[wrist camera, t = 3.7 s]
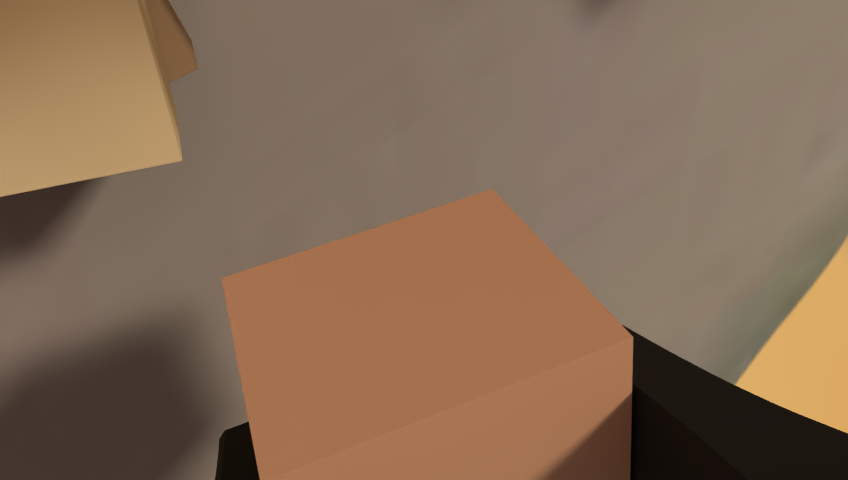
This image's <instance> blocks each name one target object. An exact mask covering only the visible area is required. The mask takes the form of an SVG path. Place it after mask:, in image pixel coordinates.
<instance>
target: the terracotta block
mask: <svg viewBox="0 0 848 480" xmlns="http://www.w3.org/2000/svg"><path fill="white" fill-rule="evenodd" d="M222 283H223V288H224V293H225V299H226V304H227V309H228V314H229V320H230V325H231V330H232V336H233V341H234V346H235V351H236V357H237V362H238V367H239V373H240V378H241V383H242V388H243V394H244V399H245V404H246V409H247V415H248V420H249V425H250V431H251V436H252V441H253V446H254V452H255V457H256V462H257V468H258V473H259V478H260V480H630V468H631V420H632V372H633V336H632V335H631V334H630V333H629V332H628V331H627V330H626V329H625V328H624V327H623V326H622V325H621V324H620V323H619V322H618V321H617V319H616V318H615V317H614V316H613V315H612V314H611V313H610V312H609V311H608V310H607V309H606V308H605V307H604V306H603V305H602V304H601V303H600V302H599V301H598V300H597V298H596V297H595V296H594V295H593V294H592V293H591V292H590V291H589V290H588V289H587V288H586V287H585V286H584V285H583V284H582V283H581V282H580V281H579V280H578V279H577V278H576V276H575V275H574V274H573V273H572V272H571V271H570V270H569V269H568V268H567V267H566V266H565V265H564V264H563V263H562V262H561V261H560V260H559V259H558V258H557V257H556V255H555V254H554V253H553V252H552V251H551V250H550V249H549V248H548V247H547V246H546V245H545V244H544V243H543V242H542V241H541V240H540V239H539V238H538V237H537V236H536V235H535V233H534V232H533V231H532V230H531V229H530V228H529V227H528V226H527V225H526V224H525V223H524V222H523V221H522V220H521V219H520V218H519V217H518V216H517V215H516V214H515V213H514V211H513V210H512V209H511V208H510V207H509V206H508V205H507V204H506V203H505V202H504V201H503V200H502V199H501V198H500V197H499V196H498V195H497V194H496V193H495V192H494V190H493V189H491V190H488V191H485V192H482V193H479V194H476V195H473V196H470V197H467V198H464V199H461V200H458V201H455V202H452V203H449V204H446V205H443V206H440V207H437V208H434V209H431V210H428V211H425V212H422V213H419V214H415V215H412V216H409V217H406V218H403V219H400V220H397V221H394V222H391V223H388V224H385V225H382V226H379V227H376V228H373V229H370V230H367V231H364V232H361V233H358V234H355V235H352V236H349V237H346V238H343V239H339V240H336V241H333V242H330V243H327V244H324V245H321V246H318V247H315V248H312V249H309V250H306V251H303V252H300V253H297V254H294V255H291V256H288V257H285V258H282V259H279V260H276V261H273V262H270V263H267V264H263V265H260V266H257V267H254V268H251V269H248V270H245V271H242V272H239V273H236V274H233V275H230V276H227V277H224V278H222Z"/></svg>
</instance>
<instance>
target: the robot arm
mask: <svg viewBox="0 0 848 480" xmlns="http://www.w3.org/2000/svg"><path fill="white" fill-rule="evenodd" d="M621 325H622V324H621ZM622 326H623V325H622ZM623 327H624V328H625V329H626V330H627V331H628V332H629V333H630V334H631V335H632V336H633V372H632V420H631V468H630V480H848V434H847V433H845V432H842V431H840V430H837V429H835V428H832V427H830V426H827V425H825V424H822V423H820V422H817V421H815V420H812V419H809V418H807V417H804V416H802V415H799V414H797V413H795V412H792V411H790V410H788V409H785V408H783V407H781V406H778V405H776V404H774V403H771V402H769V401H767V400H765V399H763V398H761V397H759V396H756V395H754V394H752V393H750V392H748V391H746V390H743V389H741V388H739V387H737V386H735V385H733V384H731V383H729V382H727V381H725V380H723V379H721V378H719V377H717V376H715V375H713V374H711V373H709V372H707V371H705V370H703V369H701V368H700V367H698V366H696V365H694V364H692V363H690V362H688V361H686V360H684V359H682V358H681V357H679V356H677V355H675V354H673V353H671V352H669V351H668V350H666V349H664V348H662V347H660V346H659V345H657V344H655V343H653V342H651V341H650V340H648V339H646V338H644V337H643V336H641V335H639V334H637V333H635V332H634V331H632V330H630V329H628V328H627V327H625V326H623ZM215 480H260V478H259V473H258V468H257V462H256V457H255V452H254V446H253V441H252V436H251V431H250V425H249V422H247V423H244V424H241V425H238V426H236V427H233V428H230V429H228V430H225V431H224V433H223V434H222V436H221V437H220V439H219V452H218V461H217V470H216V477H215Z"/></svg>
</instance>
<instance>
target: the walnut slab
mask: <svg viewBox="0 0 848 480" xmlns="http://www.w3.org/2000/svg"><path fill="white" fill-rule="evenodd" d="M146 4H147V8H148V11H149V15H150V19H151V22H152V26H153V29H154V33H155V37H156V40H157V44H158V47H159V51H160V55H161V58H162V62H163V65H164V69H165V73H166V76H167V80H168V83H169V82H171V81H173V80H175V79H177V78H179V77H181V76H184V75H186V74H188V73H190V72H192V71H194V70H196V69H198V66H197V62H196V58H195V54H194V50H193V46H192V42H191V39H190V37H189V36H188V34H187V32H186V30H185V29H184V27H183V25H182V23H181V22H180V20H179V18H178V16H177V15H176V13H175V11H174V9H173V8H172V6H171V4H170V3H169V1H168V0H146Z"/></svg>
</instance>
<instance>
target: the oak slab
mask: <svg viewBox="0 0 848 480" xmlns="http://www.w3.org/2000/svg"><path fill="white" fill-rule="evenodd" d="M178 161H182V154H181V146H180V138H179V130H178V122H177V114H176V109H175V105H174V102H173V98H172V94H171V91H170V87H169V84H168V80H167V76H166V73H165V69H164V65H163V62H162V58H161V55H160V51H159V47H158V44H157V40H156V37H155V33H154V29H153V26H152V22H151V19H150V15H149V11H148V8H147V4H146V0H0V197H2V196H7V195H12V194H17V193H22V192H27V191H32V190H37V189H42V188H47V187H52V186H58V185H63V184H68V183H73V182H78V181H83V180H88V179H93V178H98V177H103V176H108V175H113V174H118V173H123V172H128V171H133V170H138V169H143V168H148V167H153V166H158V165H163V164H168V163H173V162H178Z"/></svg>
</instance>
